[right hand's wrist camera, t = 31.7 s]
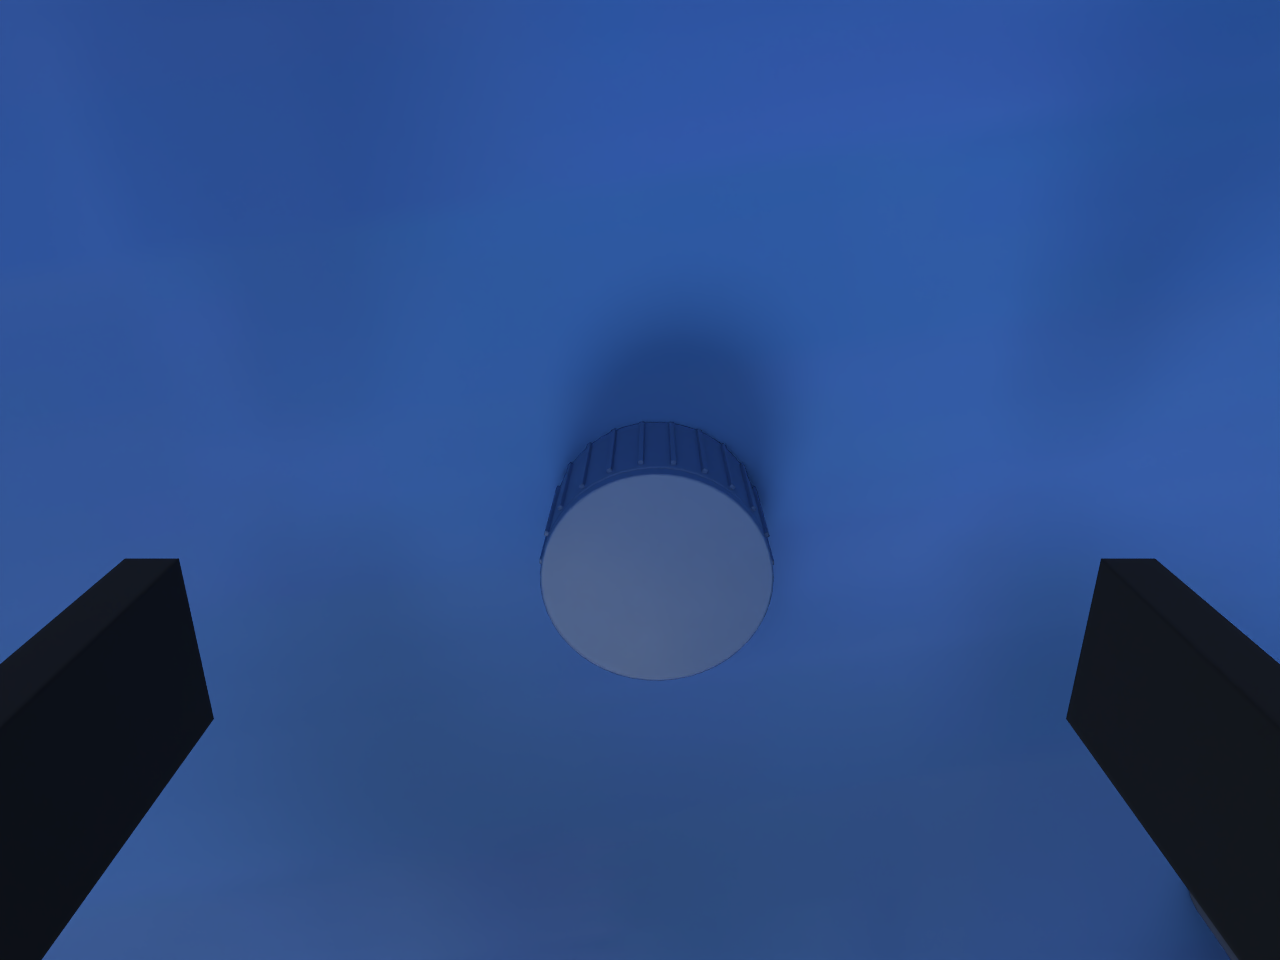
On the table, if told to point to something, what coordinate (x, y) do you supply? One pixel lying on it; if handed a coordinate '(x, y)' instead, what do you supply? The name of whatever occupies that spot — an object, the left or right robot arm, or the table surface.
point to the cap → (656, 553)
